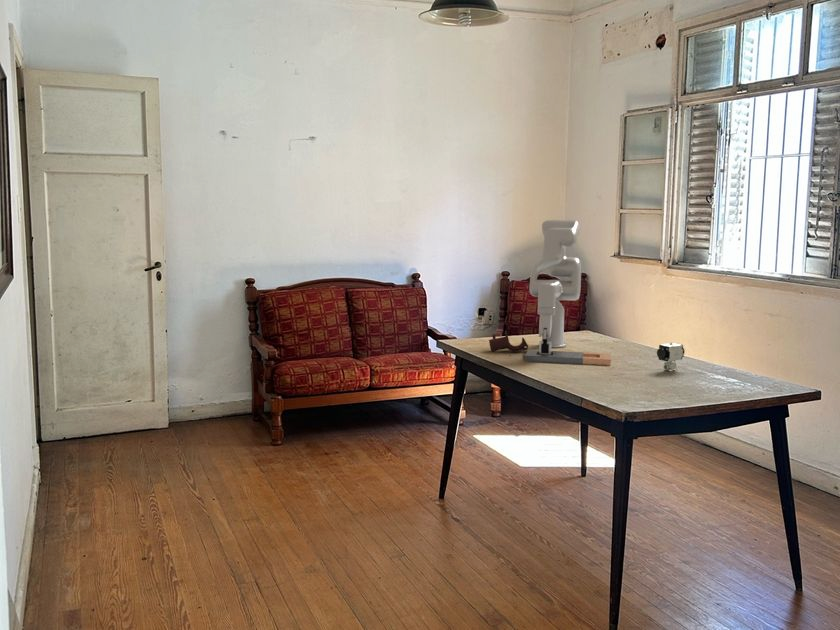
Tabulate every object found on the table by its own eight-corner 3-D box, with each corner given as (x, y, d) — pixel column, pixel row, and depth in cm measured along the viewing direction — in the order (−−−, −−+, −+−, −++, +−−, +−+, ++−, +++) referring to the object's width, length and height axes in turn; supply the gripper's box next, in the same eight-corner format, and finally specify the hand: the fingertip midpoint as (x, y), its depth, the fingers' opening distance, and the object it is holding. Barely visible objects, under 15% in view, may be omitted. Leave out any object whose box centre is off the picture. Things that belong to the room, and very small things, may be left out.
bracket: (528, 347, 366) (524, 326, 368) (491, 354, 367) (487, 333, 370) (528, 350, 372) (524, 329, 374) (492, 357, 373) (488, 336, 375)
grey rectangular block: (539, 356, 358) (540, 341, 357) (551, 357, 357) (551, 341, 356) (538, 358, 353) (539, 343, 352) (550, 359, 352) (550, 343, 351)
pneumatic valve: (655, 371, 332) (656, 342, 330) (674, 368, 338) (676, 340, 336) (665, 373, 327) (667, 344, 325) (685, 370, 333) (687, 342, 331)
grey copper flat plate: (527, 355, 363) (527, 349, 363) (609, 359, 356) (610, 353, 355) (525, 361, 349) (525, 355, 349) (610, 365, 342) (610, 359, 342)
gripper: (539, 307, 361) (537, 347, 363) (536, 313, 344) (535, 355, 347) (555, 308, 359) (554, 348, 362) (554, 314, 343) (552, 356, 345)
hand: (545, 351), depth 354 cm, fingers closed on grey rectangular block, 5 cm apart
